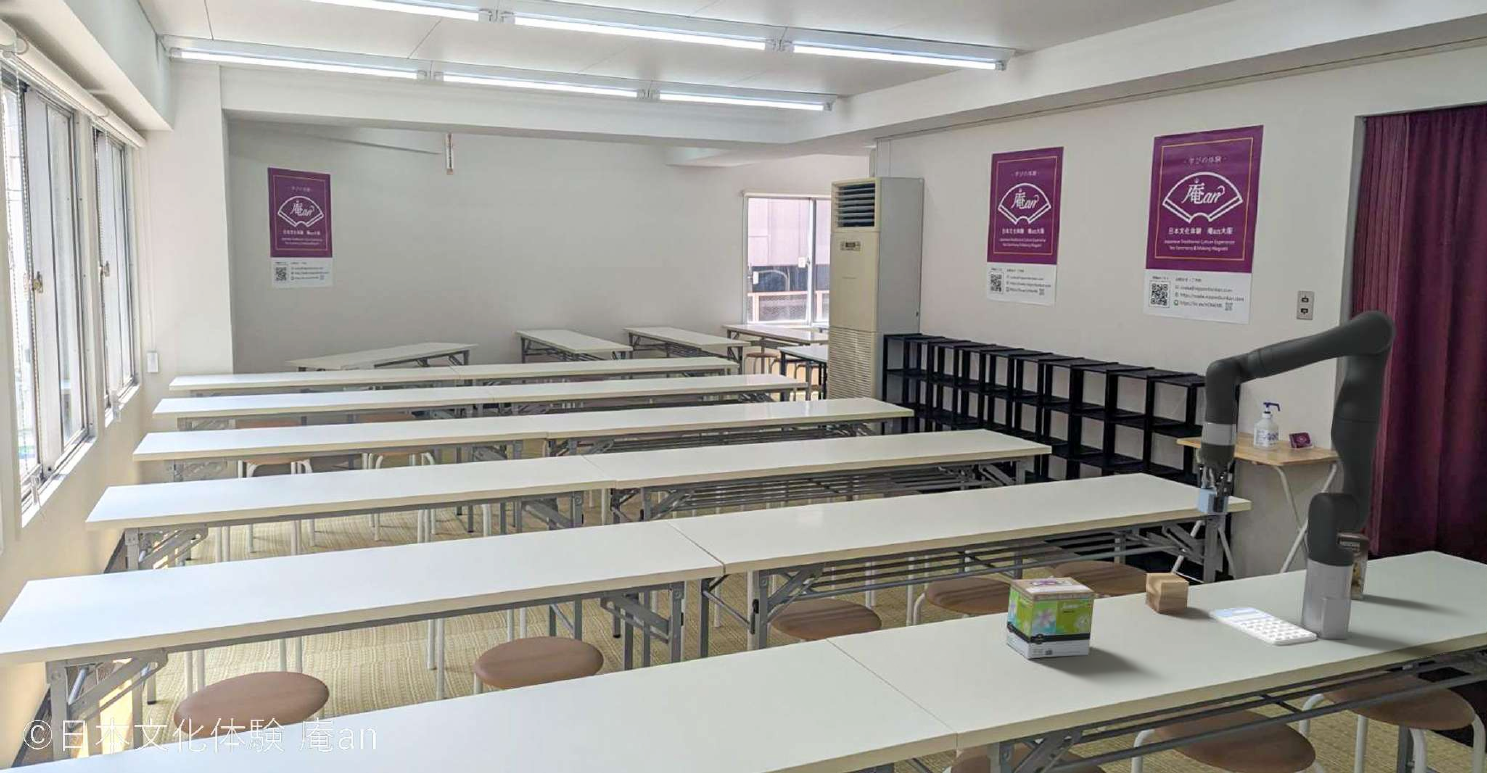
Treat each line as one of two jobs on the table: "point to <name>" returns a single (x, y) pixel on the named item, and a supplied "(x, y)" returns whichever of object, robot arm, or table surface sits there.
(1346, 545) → the coffee box
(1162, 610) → the base block
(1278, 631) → the calculator
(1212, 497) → the blue cube
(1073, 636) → the tea box
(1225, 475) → the robot arm
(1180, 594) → the top block
